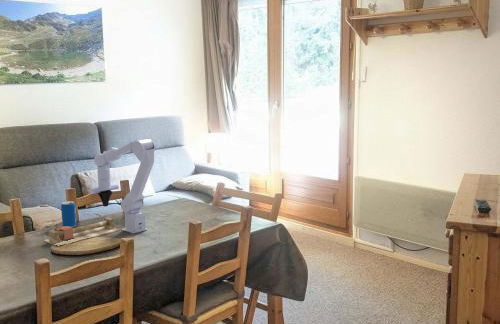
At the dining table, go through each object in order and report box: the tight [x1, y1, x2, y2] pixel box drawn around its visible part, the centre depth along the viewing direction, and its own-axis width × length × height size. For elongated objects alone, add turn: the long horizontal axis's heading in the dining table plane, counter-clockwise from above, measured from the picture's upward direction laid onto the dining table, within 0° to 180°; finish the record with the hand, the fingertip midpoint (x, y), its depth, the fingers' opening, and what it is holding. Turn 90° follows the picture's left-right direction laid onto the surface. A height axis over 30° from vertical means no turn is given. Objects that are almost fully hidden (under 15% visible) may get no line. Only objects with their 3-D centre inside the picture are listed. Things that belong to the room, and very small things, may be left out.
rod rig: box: [43, 216, 120, 245], centre depth 224 cm, size 30×12×5 cm, turn 140°
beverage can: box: [60, 200, 78, 228], centre depth 238 cm, size 6×6×12 cm
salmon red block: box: [55, 226, 74, 240], centre depth 218 cm, size 4×7×5 cm, turn 50°
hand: (105, 206), depth 239 cm, fingers closed
